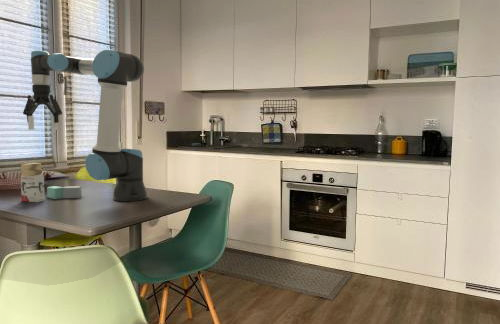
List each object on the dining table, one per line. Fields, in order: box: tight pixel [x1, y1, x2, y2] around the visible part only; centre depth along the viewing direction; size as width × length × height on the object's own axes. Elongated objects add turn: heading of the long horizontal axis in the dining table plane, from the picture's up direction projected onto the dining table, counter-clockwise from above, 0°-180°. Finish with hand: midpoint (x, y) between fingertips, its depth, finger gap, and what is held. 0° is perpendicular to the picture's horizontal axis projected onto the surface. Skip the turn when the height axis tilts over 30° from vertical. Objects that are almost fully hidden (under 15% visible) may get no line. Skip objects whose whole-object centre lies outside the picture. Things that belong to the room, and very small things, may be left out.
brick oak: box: [20, 162, 43, 176], centre depth 177 cm, size 7×4×5 cm, turn 162°
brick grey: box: [62, 185, 82, 199], centre depth 188 cm, size 7×4×5 cm, turn 98°
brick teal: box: [46, 185, 64, 200], centre depth 187 cm, size 7×4×5 cm, turn 53°
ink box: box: [20, 174, 46, 203], centre depth 178 cm, size 9×5×12 cm, turn 76°
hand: (43, 129), depth 191 cm, fingers open, 13 cm apart
